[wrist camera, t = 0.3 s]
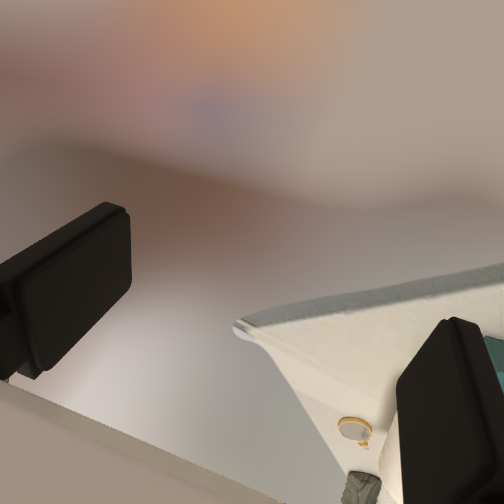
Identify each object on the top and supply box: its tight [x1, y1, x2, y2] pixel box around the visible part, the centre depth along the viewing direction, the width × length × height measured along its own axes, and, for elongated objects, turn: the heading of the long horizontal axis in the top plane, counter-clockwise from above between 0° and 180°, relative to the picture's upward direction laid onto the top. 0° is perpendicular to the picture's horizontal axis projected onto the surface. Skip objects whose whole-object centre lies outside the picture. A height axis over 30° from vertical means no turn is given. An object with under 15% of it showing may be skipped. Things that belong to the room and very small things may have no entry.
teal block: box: [484, 336, 504, 393], centre depth 29 cm, size 4×4×4 cm
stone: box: [341, 472, 381, 504], centre depth 49 cm, size 12×2×5 cm
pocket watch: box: [338, 417, 372, 450], centre depth 42 cm, size 6×4×1 cm, turn 28°
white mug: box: [379, 411, 403, 504], centre depth 32 cm, size 8×10×12 cm
